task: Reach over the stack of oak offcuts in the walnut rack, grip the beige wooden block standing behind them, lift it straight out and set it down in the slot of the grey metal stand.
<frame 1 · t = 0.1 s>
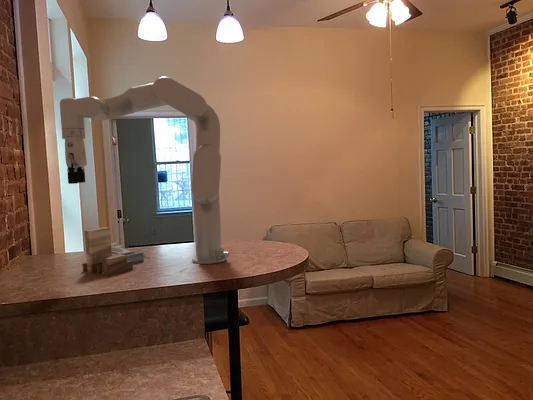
hand: (77, 183, 164), 31 cm above the breakfast bar, tool pointing down, fingers open, 9 cm apart
molding: (126, 255, 194), on the breakfast bar
rack: (108, 273, 157), on the breakfast bar
beige wooden block: (100, 269, 159), point 1 cm above the breakfast bar, touching rack
offcut bottom: (115, 271, 155), point 1 cm above the breakfast bar, touching offcut top, rack
stand: (129, 265, 169), on the breakfast bar
offcut top: (115, 264, 155), point 4 cm above the breakfast bar, touching offcut bottom
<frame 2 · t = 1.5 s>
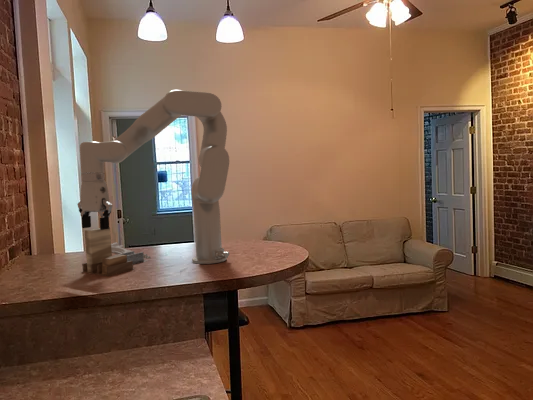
hand: (95, 228, 158), 15 cm above the breakfast bar, tool pointing down, fingers open, 9 cm apart
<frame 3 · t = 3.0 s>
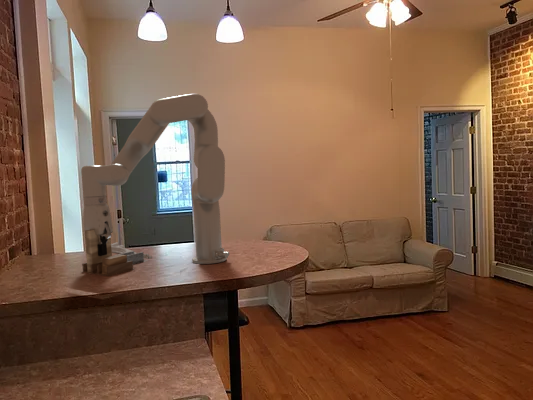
hand: (99, 254, 159), 6 cm above the breakfast bar, tool pointing down, fingers closed on beige wooden block, 3 cm apart
beige wooden block: (100, 269, 159), point 1 cm above the breakfast bar, touching gripper, rack
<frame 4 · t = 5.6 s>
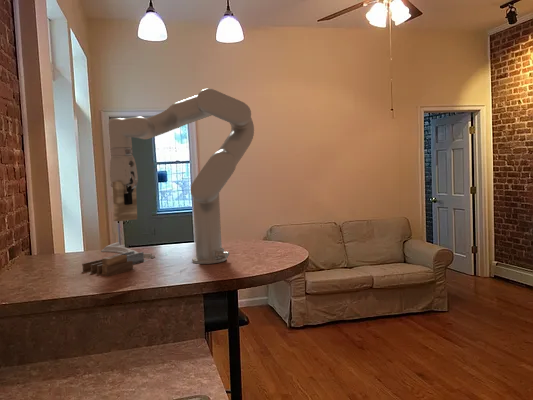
hand: (125, 203, 167), 23 cm above the breakfast bar, tool pointing down, fingers closed on beige wooden block, 3 cm apart
beige wooden block: (125, 220, 168), point 17 cm above the breakfast bar, touching gripper
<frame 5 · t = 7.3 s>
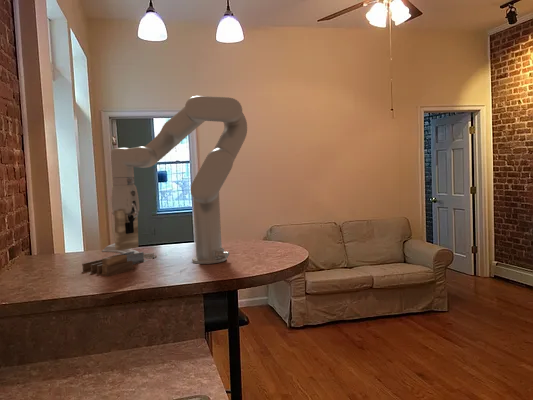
hand: (126, 232, 168), 12 cm above the breakfast bar, tool pointing down, fingers closed on beige wooden block, 3 cm apart
beige wooden block: (127, 248, 168), point 6 cm above the breakfast bar, touching gripper
when the fingers open (8 cm above the breakfast bar, at t = 8.5 s): beige wooden block stays where it is, resting on stand.
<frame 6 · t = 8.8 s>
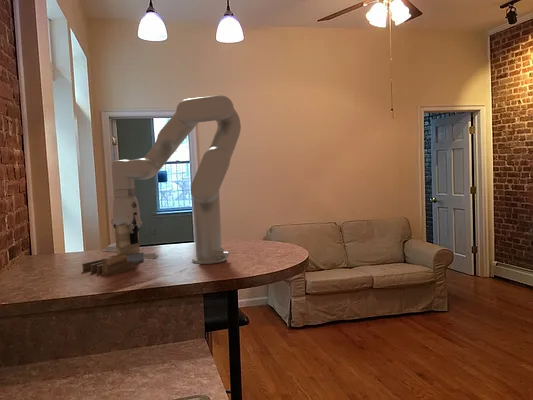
hand: (127, 242, 168), 8 cm above the breakfast bar, tool pointing down, fingers open, 6 cm apart
beige wooden block: (129, 262, 169), point 1 cm above the breakfast bar, touching stand
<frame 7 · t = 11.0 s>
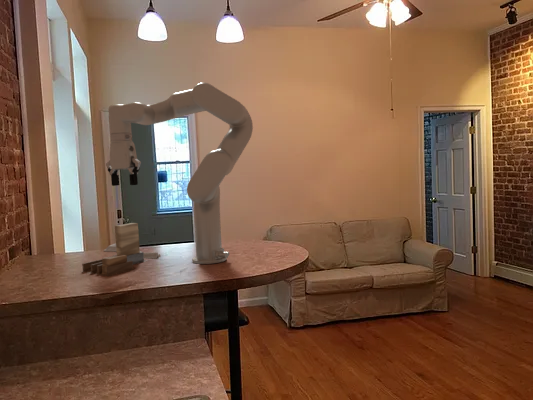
hand: (124, 185, 171), 29 cm above the breakfast bar, tool pointing down, fingers open, 9 cm apart
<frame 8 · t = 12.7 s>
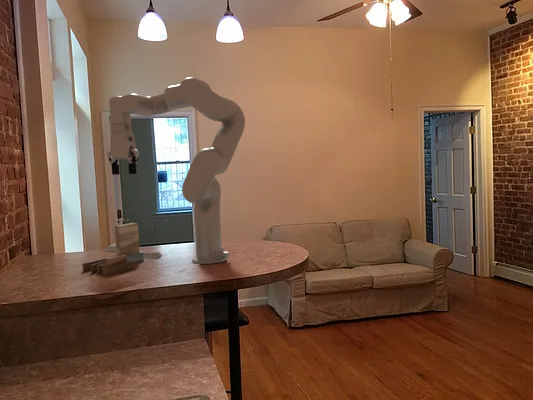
hand: (124, 174, 178), 33 cm above the breakfast bar, tool pointing down, fingers open, 9 cm apart
at the end: beige wooden block inside the target area on the stand (0.1 cm from its centre), point 1.2 cm above the stand's base; beige wooden block tilted 0°; the gripper is holding nothing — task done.
